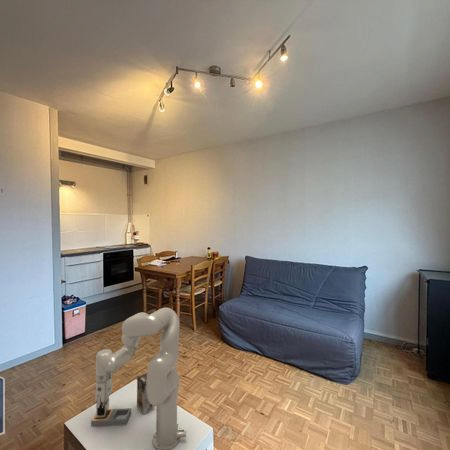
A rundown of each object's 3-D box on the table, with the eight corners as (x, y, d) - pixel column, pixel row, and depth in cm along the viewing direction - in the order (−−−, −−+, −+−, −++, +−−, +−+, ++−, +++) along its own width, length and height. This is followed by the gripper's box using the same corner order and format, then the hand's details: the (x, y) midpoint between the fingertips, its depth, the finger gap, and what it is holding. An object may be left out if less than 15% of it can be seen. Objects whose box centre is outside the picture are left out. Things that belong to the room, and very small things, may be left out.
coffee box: (136, 406, 135) (136, 376, 135) (147, 400, 139) (147, 372, 140) (143, 415, 128) (143, 384, 129) (154, 409, 133) (155, 379, 133)
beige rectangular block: (108, 414, 127) (109, 398, 128) (104, 421, 123) (105, 404, 123) (99, 414, 127) (100, 398, 127) (95, 421, 123) (96, 404, 123)
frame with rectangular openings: (131, 412, 130) (131, 407, 130) (126, 424, 122) (126, 419, 122) (98, 414, 129) (98, 409, 129) (91, 426, 121) (91, 421, 121)
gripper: (104, 385, 117) (103, 424, 117) (117, 366, 134) (116, 399, 134) (88, 386, 117) (87, 424, 116) (103, 366, 134) (102, 400, 133)
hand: (103, 411), depth 125 cm, fingers closed on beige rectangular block, 4 cm apart
